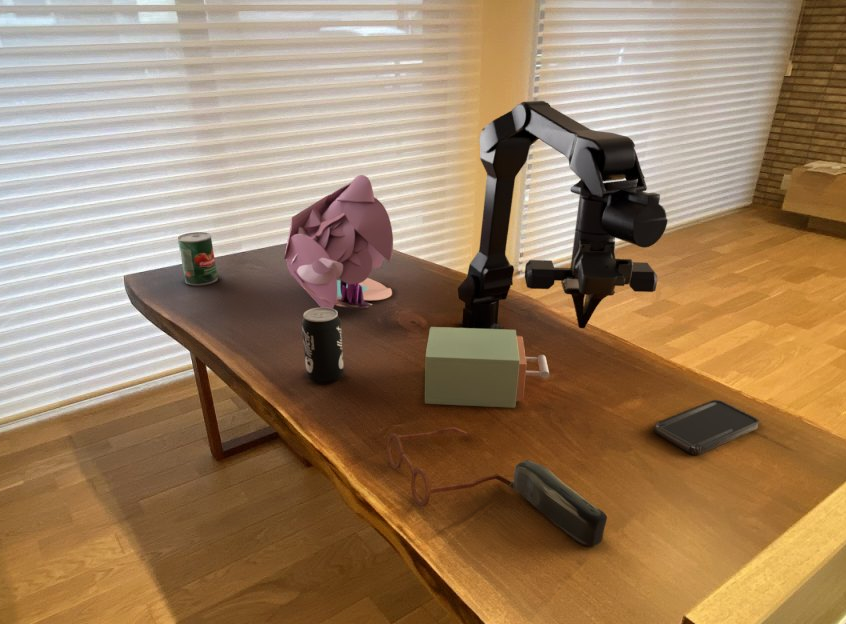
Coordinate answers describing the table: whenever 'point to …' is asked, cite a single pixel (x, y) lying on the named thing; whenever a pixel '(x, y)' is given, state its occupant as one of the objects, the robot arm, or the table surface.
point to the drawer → (522, 371)
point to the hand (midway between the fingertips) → (581, 327)
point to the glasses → (418, 470)
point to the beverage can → (322, 345)
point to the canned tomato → (197, 258)
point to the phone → (706, 426)
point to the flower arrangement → (341, 246)
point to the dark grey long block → (559, 503)
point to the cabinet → (471, 367)
